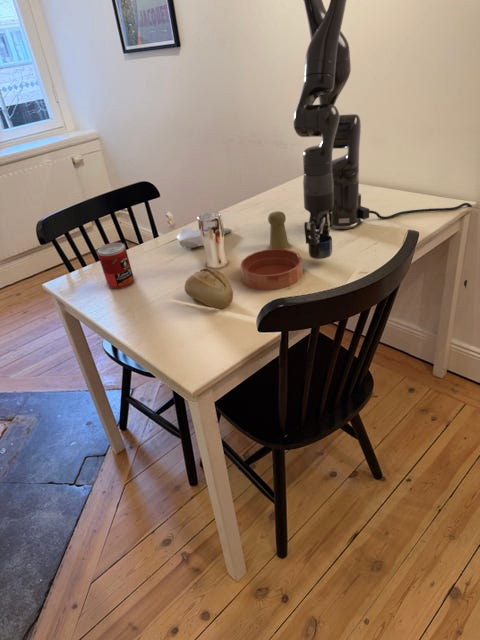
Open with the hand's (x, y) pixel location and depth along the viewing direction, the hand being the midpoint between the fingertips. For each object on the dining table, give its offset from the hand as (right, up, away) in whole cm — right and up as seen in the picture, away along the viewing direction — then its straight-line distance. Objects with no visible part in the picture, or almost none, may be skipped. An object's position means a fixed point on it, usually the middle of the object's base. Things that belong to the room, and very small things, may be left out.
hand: (320, 250), depth 127 cm
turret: (-33, +7, +27) cm, 44 cm away
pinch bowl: (0, -1, +1) cm, 1 cm away
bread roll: (-29, -14, -7) cm, 33 cm away
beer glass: (-29, -3, +11) cm, 31 cm away
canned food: (-56, -8, +8) cm, 58 cm away
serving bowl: (-13, -7, 0) cm, 15 cm away
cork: (-10, +3, +16) cm, 19 cm away
